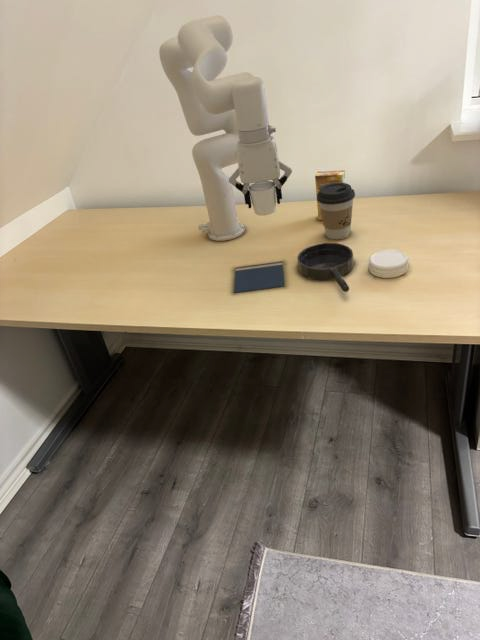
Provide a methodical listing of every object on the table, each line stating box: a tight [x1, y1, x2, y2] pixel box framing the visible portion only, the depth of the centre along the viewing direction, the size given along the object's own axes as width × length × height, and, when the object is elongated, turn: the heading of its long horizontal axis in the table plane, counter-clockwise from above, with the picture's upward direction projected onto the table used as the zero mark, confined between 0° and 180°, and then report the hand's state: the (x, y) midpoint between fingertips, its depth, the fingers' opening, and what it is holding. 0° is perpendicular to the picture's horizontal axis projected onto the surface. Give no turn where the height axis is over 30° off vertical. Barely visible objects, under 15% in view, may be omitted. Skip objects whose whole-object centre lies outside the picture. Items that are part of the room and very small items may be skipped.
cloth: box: [233, 260, 286, 294], centre depth 142 cm, size 14×14×1 cm
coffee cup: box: [316, 182, 356, 241], centre depth 151 cm, size 11×11×15 cm
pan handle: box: [330, 267, 350, 293], centre depth 128 cm, size 12×2×2 cm, turn 8°
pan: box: [297, 242, 355, 281], centre depth 140 cm, size 15×15×4 cm
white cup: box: [248, 180, 277, 217], centre depth 129 cm, size 7×7×7 cm
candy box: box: [314, 170, 346, 221], centre depth 162 cm, size 9×4×15 cm, turn 70°
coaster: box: [368, 249, 409, 279], centre depth 133 cm, size 10×10×4 cm
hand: (264, 203), depth 130 cm, fingers closed on white cup, 6 cm apart
